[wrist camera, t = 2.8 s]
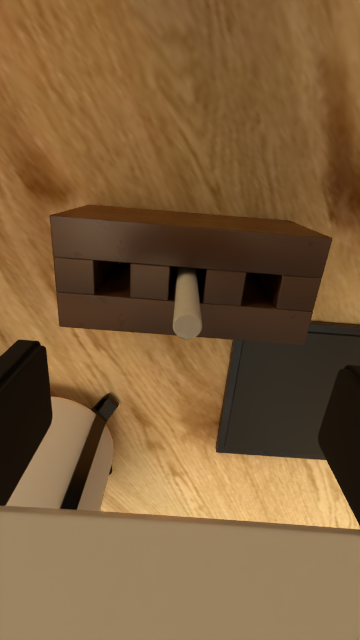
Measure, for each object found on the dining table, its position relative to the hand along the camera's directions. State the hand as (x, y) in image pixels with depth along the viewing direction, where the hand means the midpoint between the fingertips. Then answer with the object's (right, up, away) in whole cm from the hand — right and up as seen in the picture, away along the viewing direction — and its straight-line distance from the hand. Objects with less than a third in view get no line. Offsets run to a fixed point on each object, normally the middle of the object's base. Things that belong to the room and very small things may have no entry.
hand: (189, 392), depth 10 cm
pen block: (0, +8, +17) cm, 18 cm away
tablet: (+15, -5, +22) cm, 27 cm away
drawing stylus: (0, +8, +17) cm, 18 cm away
